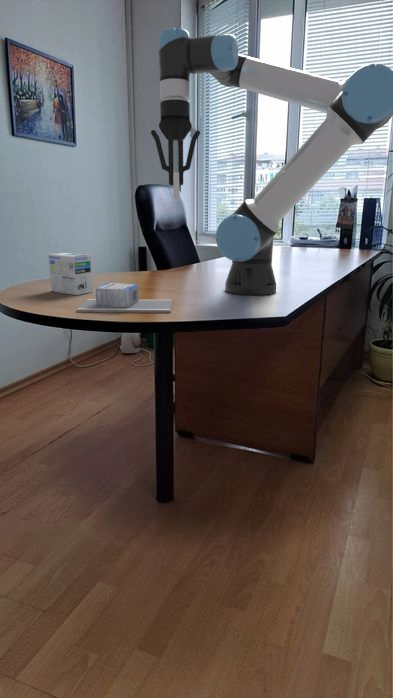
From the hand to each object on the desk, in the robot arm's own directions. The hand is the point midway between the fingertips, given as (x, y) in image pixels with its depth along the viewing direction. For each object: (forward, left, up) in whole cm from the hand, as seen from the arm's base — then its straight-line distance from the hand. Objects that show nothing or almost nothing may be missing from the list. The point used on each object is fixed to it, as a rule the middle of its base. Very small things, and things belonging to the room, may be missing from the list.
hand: (176, 198), depth 128 cm
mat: (+12, +18, -26) cm, 34 cm away
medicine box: (+10, +18, -23) cm, 31 cm away
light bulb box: (+30, -2, -26) cm, 40 cm away
